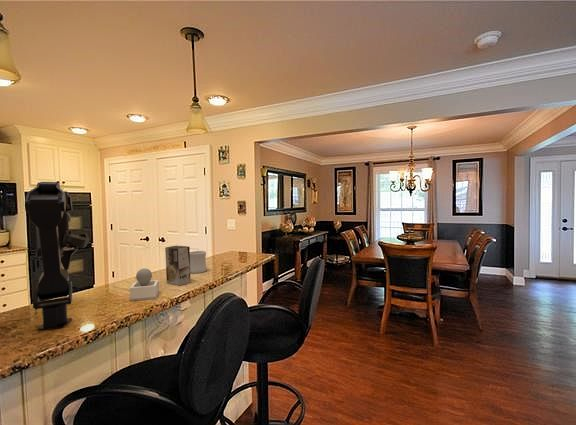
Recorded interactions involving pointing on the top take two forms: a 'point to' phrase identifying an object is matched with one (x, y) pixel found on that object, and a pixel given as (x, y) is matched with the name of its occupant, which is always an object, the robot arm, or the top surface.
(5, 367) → the top surface
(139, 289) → the white hollow square box
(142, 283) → the light bulb
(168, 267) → the coffee box
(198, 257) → the mug
